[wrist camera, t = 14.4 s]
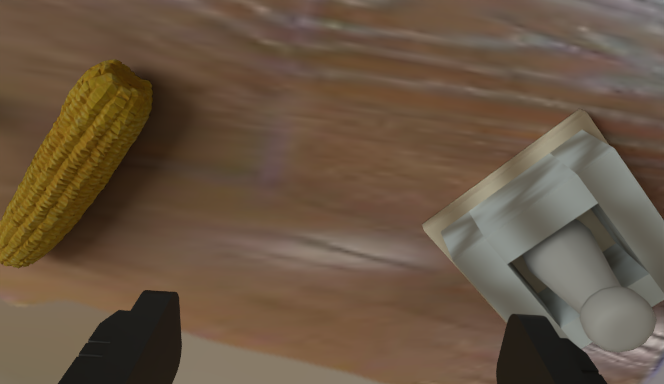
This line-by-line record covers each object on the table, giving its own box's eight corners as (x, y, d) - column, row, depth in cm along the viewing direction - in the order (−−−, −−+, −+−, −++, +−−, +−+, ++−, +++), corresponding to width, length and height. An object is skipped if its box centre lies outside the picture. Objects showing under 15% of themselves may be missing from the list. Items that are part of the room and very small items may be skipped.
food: (112, 45, 39) (75, 55, 33) (174, 89, 40) (149, 106, 35) (2, 235, 45) (-44, 269, 40) (59, 268, 47) (22, 306, 41)
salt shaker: (558, 193, 42) (649, 276, 30) (593, 238, 44) (692, 335, 31) (500, 234, 43) (564, 329, 31) (536, 276, 45) (609, 382, 33)
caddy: (579, 108, 40) (620, 128, 35) (670, 240, 45) (719, 278, 39) (422, 224, 44) (434, 259, 39) (520, 335, 49) (544, 381, 43)
